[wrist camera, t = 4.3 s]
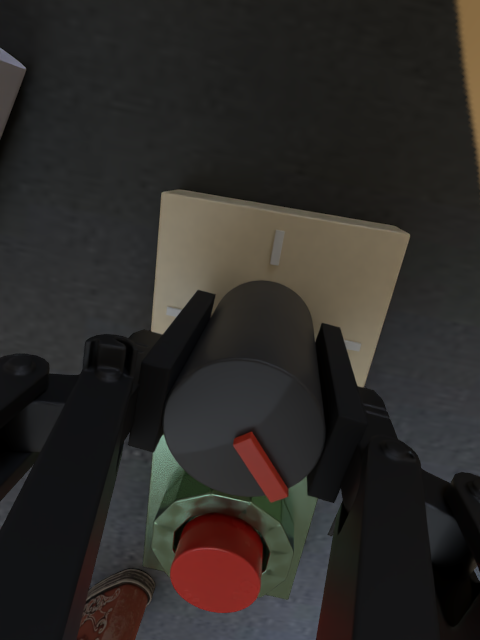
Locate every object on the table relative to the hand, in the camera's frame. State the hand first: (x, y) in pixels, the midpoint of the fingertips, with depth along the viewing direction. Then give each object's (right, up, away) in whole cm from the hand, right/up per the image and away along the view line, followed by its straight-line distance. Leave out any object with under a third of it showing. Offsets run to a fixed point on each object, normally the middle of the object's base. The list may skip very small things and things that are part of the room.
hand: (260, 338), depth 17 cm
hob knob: (0, 0, +1) cm, 1 cm away
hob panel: (0, +1, +4) cm, 4 cm away
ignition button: (-2, -11, +4) cm, 12 cm away
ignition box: (-1, -10, +8) cm, 13 cm away
